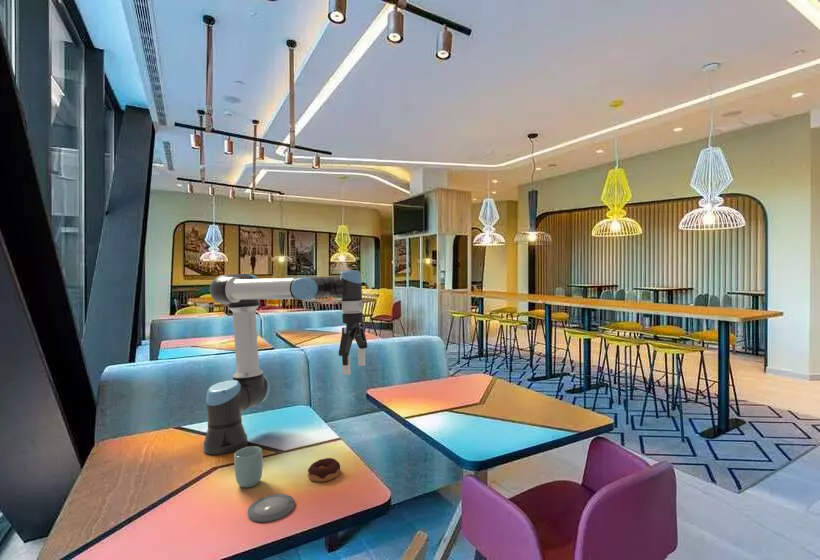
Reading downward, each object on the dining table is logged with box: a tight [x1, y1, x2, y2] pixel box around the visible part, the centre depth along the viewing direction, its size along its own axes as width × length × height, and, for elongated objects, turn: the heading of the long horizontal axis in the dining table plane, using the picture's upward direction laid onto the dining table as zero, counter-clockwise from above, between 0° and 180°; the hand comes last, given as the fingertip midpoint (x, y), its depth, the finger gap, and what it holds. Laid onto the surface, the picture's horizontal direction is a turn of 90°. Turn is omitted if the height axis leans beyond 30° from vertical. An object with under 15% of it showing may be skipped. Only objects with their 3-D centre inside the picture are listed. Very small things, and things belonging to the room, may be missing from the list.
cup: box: [233, 445, 264, 489], centre depth 123 cm, size 8×8×10 cm
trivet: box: [247, 493, 296, 523], centre depth 110 cm, size 12×12×1 cm
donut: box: [307, 457, 341, 483], centre depth 127 cm, size 10×10×4 cm
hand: (354, 369), depth 150 cm, fingers open, 13 cm apart
